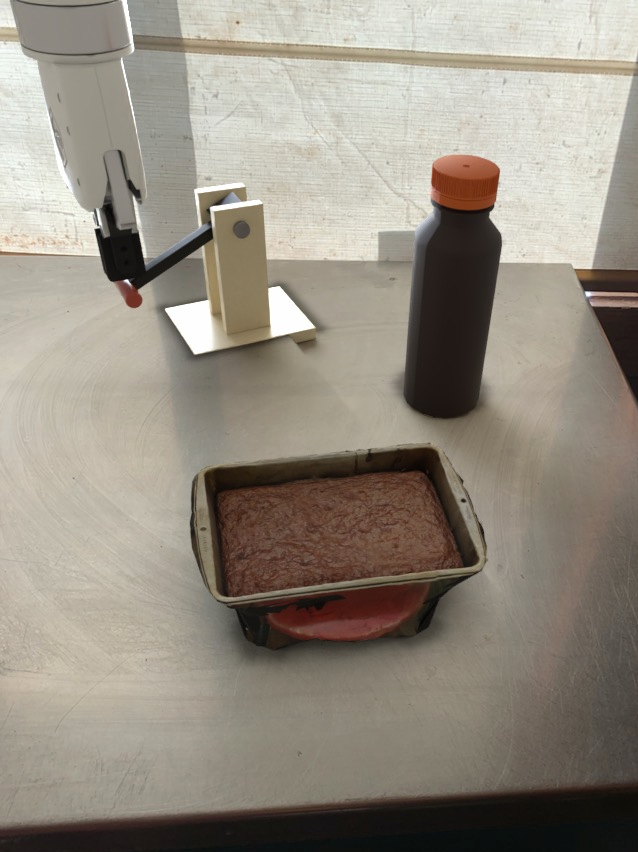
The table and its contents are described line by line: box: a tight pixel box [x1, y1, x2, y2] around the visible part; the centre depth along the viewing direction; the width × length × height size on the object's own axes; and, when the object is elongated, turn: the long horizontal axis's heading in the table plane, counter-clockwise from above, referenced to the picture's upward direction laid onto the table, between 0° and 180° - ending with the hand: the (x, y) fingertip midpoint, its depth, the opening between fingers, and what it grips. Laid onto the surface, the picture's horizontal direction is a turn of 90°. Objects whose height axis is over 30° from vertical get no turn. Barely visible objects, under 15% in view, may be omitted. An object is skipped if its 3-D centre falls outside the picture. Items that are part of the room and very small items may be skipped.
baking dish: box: [189, 442, 488, 651], centre depth 52 cm, size 14×18×10 cm
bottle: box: [402, 154, 503, 419], centre depth 64 cm, size 7×7×20 cm
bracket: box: [164, 182, 317, 356], centre depth 72 cm, size 12×9×13 cm
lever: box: [112, 192, 241, 309], centre depth 69 cm, size 13×5×2 cm, turn 119°
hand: (125, 274), depth 68 cm, fingers closed
